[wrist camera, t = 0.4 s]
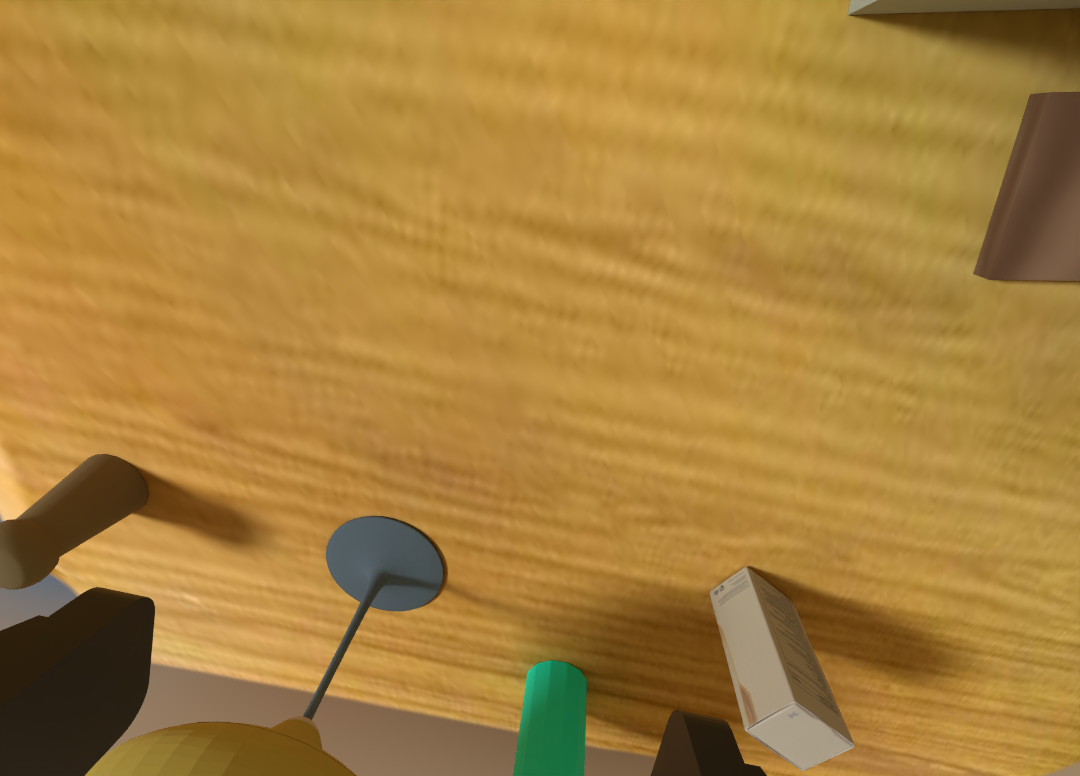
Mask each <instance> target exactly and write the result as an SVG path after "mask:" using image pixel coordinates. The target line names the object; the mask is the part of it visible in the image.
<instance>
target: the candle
mask: <svg viewBox="0 0 1080 776" xmlns="http://www.w3.org/2000/svg"><path fill="white" fill-rule="evenodd" d="M586 694H587V681H586V679H585V677H584V675H583V674H582V672H581V670H579V669H577V668H576V667H574V666H572V665H570V664H569V663H566V662H559V661H553V660H550V661H546V662H542V663H538V664H536V665H535V666H534V667H533V668H532V669H531V670H529V671H528V673H527V680H526V688H525V695H524V702H523V709H522V716H521V723H520V730H519V738H518V745H517V752H516V759H515V767H514V774H513V776H584V762H585V729H586Z"/></svg>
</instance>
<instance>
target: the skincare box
mask: <svg viewBox="0 0 1080 776" xmlns="http://www.w3.org/2000/svg"><path fill="white" fill-rule="evenodd" d="M710 597H711V601H712V605H713V609H714V613H715V617H716V620H717V624H718V628H719V632H720V635H721V639H722V643H723V647H724V651H725V655H726V659H727V662H728V666H729V670H730V674H731V678H732V682H733V685H734V689H735V693H736V697H737V701H738V705H739V709H740V712H741V716H742V720H743V724H744V729H745V731H746V732H747V733H749V734H750V735H751V736H752V737H754V738H755V739H756V740H758V741H759V742H761V743H762V744H763V745H765V746H766V747H768V748H769V749H770V750H772V751H773V752H775V753H776V754H778V755H779V756H781V757H782V758H784V759H785V760H786V761H788V762H790V763H791V764H793V765H794V766H796V767H797V768H799V769H800V770H802V771H805V770H807V769H809V768H811V767H813V766H815V765H817V764H819V763H822V762H824V761H826V760H828V759H830V758H832V757H834V756H837V755H839V754H841V753H843V752H845V751H847V750H849V749H852V748H853V747H854V743H853V740H852V738H851V736H850V733H849V731H848V729H847V727H846V724H845V722H844V720H843V717H842V715H841V713H840V710H839V708H838V706H837V703H836V701H835V699H834V696H833V694H832V692H831V689H830V687H829V685H828V682H827V680H826V678H825V675H824V673H823V671H822V669H821V666H820V664H819V662H818V659H817V657H816V655H815V652H814V650H813V648H812V645H811V643H810V641H809V638H808V636H807V634H806V631H805V629H804V627H803V624H802V622H801V620H800V617H799V615H798V613H797V610H796V608H795V606H794V604H793V603H792V602H791V601H790V600H789V599H788V598H787V597H785V596H784V595H783V594H782V593H781V592H779V591H778V590H777V589H776V588H774V587H773V586H772V585H771V584H769V583H768V582H767V581H766V580H764V579H763V578H762V577H760V576H759V575H758V574H756V573H755V572H754V571H752V570H751V569H750V568H748V567H745V568H743V569H742V570H740V571H739V572H737V573H736V574H734V575H733V576H731V577H730V578H728V579H727V580H725V581H724V582H723V583H721V584H720V585H719V586H717V587H716V588H714V589H713V590H712V591H710Z"/></svg>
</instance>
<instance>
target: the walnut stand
mask: <svg viewBox="0 0 1080 776" xmlns="http://www.w3.org/2000/svg"><path fill="white" fill-rule="evenodd" d="M974 274H975V275H978V276H980V277H983V278H986V279H988V280H1050V281H1080V92H1049V93H1039V94H1030V97H1029V100H1028V104H1027V107H1026V110H1025V113H1024V116H1023V119H1022V123H1021V126H1020V129H1019V132H1018V135H1017V138H1016V141H1015V145H1014V148H1013V151H1012V154H1011V157H1010V160H1009V164H1008V167H1007V170H1006V173H1005V176H1004V179H1003V182H1002V186H1001V189H1000V192H999V195H998V198H997V201H996V205H995V208H994V211H993V214H992V217H991V220H990V223H989V227H988V230H987V233H986V236H985V239H984V242H983V245H982V249H981V252H980V255H979V258H978V261H977V264H976V268H975V271H974Z"/></svg>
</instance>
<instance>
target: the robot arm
mask: <svg viewBox="0 0 1080 776" xmlns="http://www.w3.org/2000/svg"><path fill="white" fill-rule="evenodd" d="M154 617H155V606H154V602H153V601H152V599H150V598H148V597H144V596H139V595H134V594H129V593H125V592H120V591H115V590H110V589H105V588H100V587H96V588H92V589H90V590H87V591H86V592H84V593H82V594H81V595H79V596H78V597H77V598H75V599H74V600H72V601H71V602H69V603H68V604H66V605H65V606H64V607H62V608H61V609H59V610H58V611H56V612H55V613H53V614H52V615H50V616H49V617H44V616H40V615H39V616H36V617H34V618H31V619H29V620H26V621H24V622H21V623H19V624H16V625H14V626H11V627H9V628H7V629H4V630H2V631H0V776H85V775H86V774H87V773H88V771H89V770H90V769H91V768H92V767H93V766H94V765H95V764H96V763H97V762H98V761H99V760H100V759H101V757H102V756H103V755H104V754H105V753H106V752H107V751H108V750H109V749H110V748H111V747H112V746H113V744H114V743H115V742H116V741H117V740H118V739H119V738H120V737H121V736H122V735H123V733H124V732H125V731H126V730H127V729H128V727H129V726H130V725H131V723H132V721H133V720H134V719H135V717H136V715H137V714H138V712H139V710H140V708H141V706H142V703H143V701H144V699H145V696H146V693H147V689H148V685H149V676H150V664H151V652H152V641H153V629H154ZM651 776H767V775H766V774H765V773H764V771H763V770H762V769H761V767H759V766H754V765H750V764H745V763H744V761H743V758H742V756H741V753H740V751H739V748H738V746H737V743H736V740H735V738H734V735H733V733H732V730H731V728H730V726H729V724H728V723H727V722H726V721H725V720H723V719H719V718H715V717H710V716H705V715H700V714H695V713H691V712H686V711H681V710H675V711H673V713H672V714H671V716H670V718H669V720H668V723H667V726H666V730H665V733H664V736H663V739H662V742H661V745H660V748H659V752H658V755H657V758H656V761H655V764H654V767H653V771H652V773H651Z"/></svg>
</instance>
